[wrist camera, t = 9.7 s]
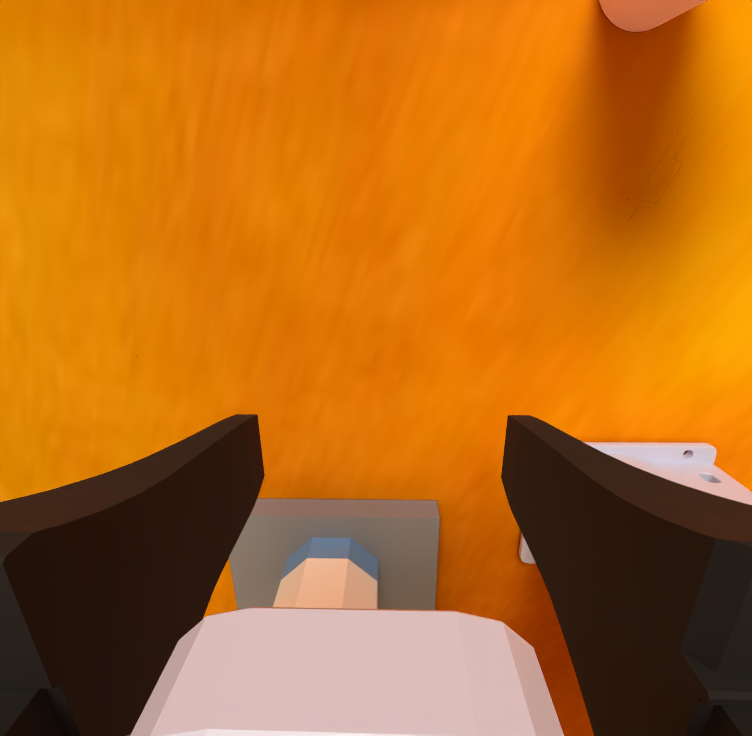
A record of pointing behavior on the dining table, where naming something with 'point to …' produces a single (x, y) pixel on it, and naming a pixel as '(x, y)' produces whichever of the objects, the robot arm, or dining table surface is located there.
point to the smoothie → (644, 12)
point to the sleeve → (329, 576)
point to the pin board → (341, 520)
